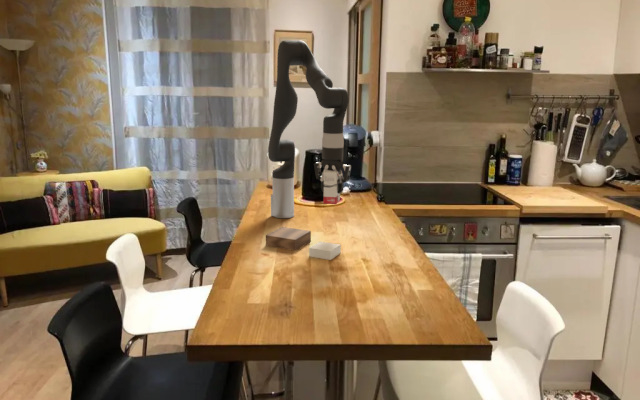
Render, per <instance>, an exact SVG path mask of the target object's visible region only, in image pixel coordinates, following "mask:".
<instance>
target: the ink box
mask: <svg viewBox="0 0 640 400" xmlns="http://www.w3.org/2000/svg"><path fill="white" fill-rule="evenodd" d="M323 171H324V170H323ZM338 183H339V182H338V172H336V171H332V170H325V171H324V192H323V200H322V201H323V203H322V204H323V205H325V204H326V205H337V204H338V202H340V200H341V193H340V194H338Z"/></svg>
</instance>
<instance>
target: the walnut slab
mask: <svg viewBox="0 0 640 400" xmlns="http://www.w3.org/2000/svg"><path fill="white" fill-rule="evenodd" d="M311 239H312V231H311V230H306V229H300V228H293V227H287V226H281V227H279V228H278V229H275V230H274V231H270V232H269V233H267V234H265V246H266V247H271V248H277V249H282V250H289V251H297V250H299V249H300V248H302V247H304V246H305V245H307V244H309V243H310V242H311Z"/></svg>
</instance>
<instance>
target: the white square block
mask: <svg viewBox="0 0 640 400" xmlns="http://www.w3.org/2000/svg"><path fill="white" fill-rule="evenodd" d="M341 248H342V247H341V244H338V243H331V242H325V241H318V242H317V243H314V244H313V245H311V246H310V247H308V249H309V251H308V253H309V255H308V256H309V257H310V258H317V259H322V260H327V261H332V260H333V259H334V258H336V257H337V256H338V255H340V254H341Z"/></svg>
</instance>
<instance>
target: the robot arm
mask: <svg viewBox="0 0 640 400" xmlns="http://www.w3.org/2000/svg"><path fill="white" fill-rule="evenodd" d="M276 59H277V62H276V63H277V64H276V65H277V66H276V67H277V68H276V69H277V70H276V84H275V85H276V87H275V95H274V101H273V102H274V103H273V114H272V125H271V131H270V137H269V141H268V149H267V150H268V151H267V155H268V159H269V160H270V161H271V162H272V163H278V162H279V163H281V162H284V163H283V164H282V165H281V166H279V167H277V168H276V169H273V170H272V172H271V173H272V174H271V175H272V176H271V177H272V178H271V179H272V181H271V182H272V194H270V216H271V217H273V218H277V219H289V218H294V216H295V163H296V162H295V161H296V160H295V159H296V158H295V157H296V146H295V142H294V141H293V140H292V139H281V137H282V135H283V133H284V131H285V130H286V129H287V127H288V126H289V125H290V123H291V122H292V121H293V119H294V118H295V117H296V114H297V109H298V94H297V92H296V90H295V87H294V86H293V84H292V81H291V79H290V66H303V67H304V68H306V70H305V81H306V82H307V84H308V85H309V86H310V88H311V89H312V90H313V91H314V93H315V96H316V99H317V103H318V104H319V106H321V107H322V108H324V109H329V110H330V109H333V112H331V114H329V115H328V114H327V115H326V116H324V118H323V123H322V124H323V125H322V126H323V127H322V131H323V132H322V137H321V138H322V139H321V140H322V141H321V142H322V143H321V162H320V161H317V162H315V163H313V166H314V174H315V178H316V180H319V181H320V190H321V192H323V193H324V171H325V170H332V171H336V172H338V182H339V183H338V194H340V195H341V194H342V192H344V184H345V183H347V182H349V181H350V176H351V171H352V165H351V164H348V165H347V164H345V163H344V145H345V143H344V142H345V141H344V140H345V139H344V138H345V137H344V121H345V116H346V113H347V109H348V106H349V102H350V101H349V100H350V97H349V92H348V91H347V89H345V88H344V87H333V81H332V80H331V78H330V77H329V76H328V75H327V74H326V72H325V71H324V70H323V69H322V68H321V66H320V65H319V63H318V61H317V59H316V57H315V56H314V54H313V53H312V50H311V49H310V47H309V45H308V44H307V43H306V42H305V41H303V40H301V39H300V40H297V39H295V40H282V41H280V43H279V44H278V48H277V58H276ZM322 168H323V171H322ZM342 169H343V171H344V173H343V171H342Z"/></svg>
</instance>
